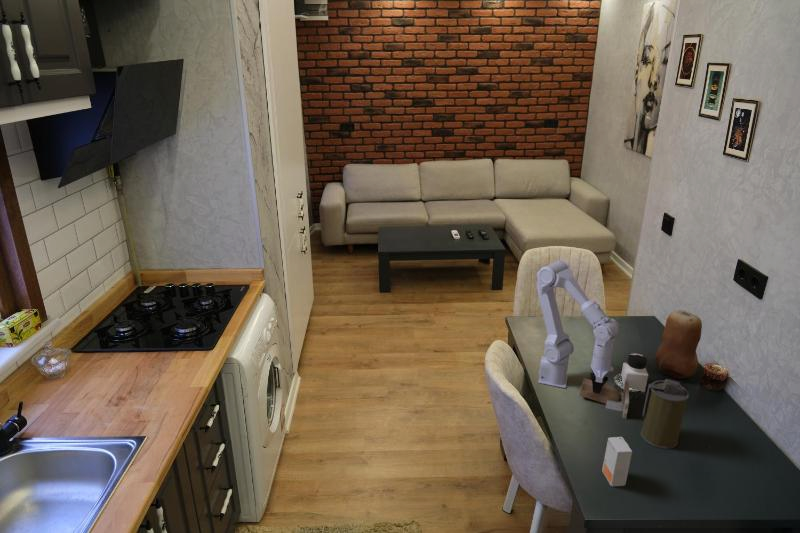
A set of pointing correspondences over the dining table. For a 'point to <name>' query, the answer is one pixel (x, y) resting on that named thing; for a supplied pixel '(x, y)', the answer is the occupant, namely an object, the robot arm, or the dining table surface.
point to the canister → (664, 413)
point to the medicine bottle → (635, 372)
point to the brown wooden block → (605, 393)
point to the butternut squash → (679, 345)
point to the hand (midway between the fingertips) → (596, 389)
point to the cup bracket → (616, 403)
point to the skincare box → (617, 461)
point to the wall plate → (626, 398)
